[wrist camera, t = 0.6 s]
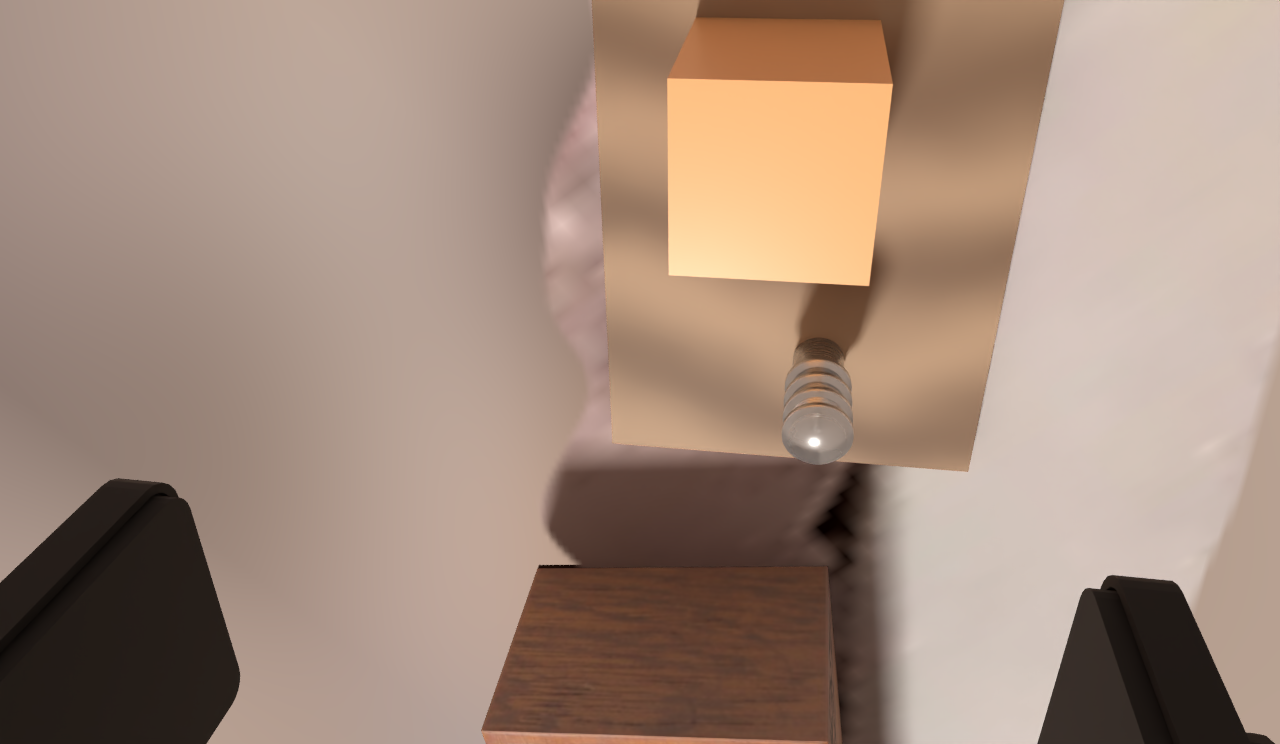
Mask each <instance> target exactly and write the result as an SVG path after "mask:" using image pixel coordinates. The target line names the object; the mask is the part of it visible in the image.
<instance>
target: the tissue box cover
mask: <svg viewBox="0 0 1280 744" xmlns="http://www.w3.org/2000/svg"><path fill="white" fill-rule="evenodd" d="M481 731H482V734H483V737H484V739H485V742H486V744H842V733H841V720H840V708H839V696H838V684H837V671H836V659H835V647H834V635H833V623H832V610H831V598H830V586H829V574H828V566H823V567H673V568H579V567H578V566H577V565H539V566H538V569H537V572H536V574H535V577H534V580H533V583H532V586H531V589H530V592H529V595H528V597H527V600H526V603H525V606H524V609H523V612H522V615H521V618H520V620H519V623H518V626H517V629H516V632H515V635H514V638H513V641H512V643H511V646H510V649H509V652H508V655H507V658H506V661H505V664H504V667H503V669H502V672H501V675H500V678H499V681H498V684H497V687H496V689H495V692H494V695H493V698H492V701H491V704H490V707H489V710H488V712H487V715H486V718H485V721H484V724H483V727H482V730H481Z"/></svg>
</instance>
